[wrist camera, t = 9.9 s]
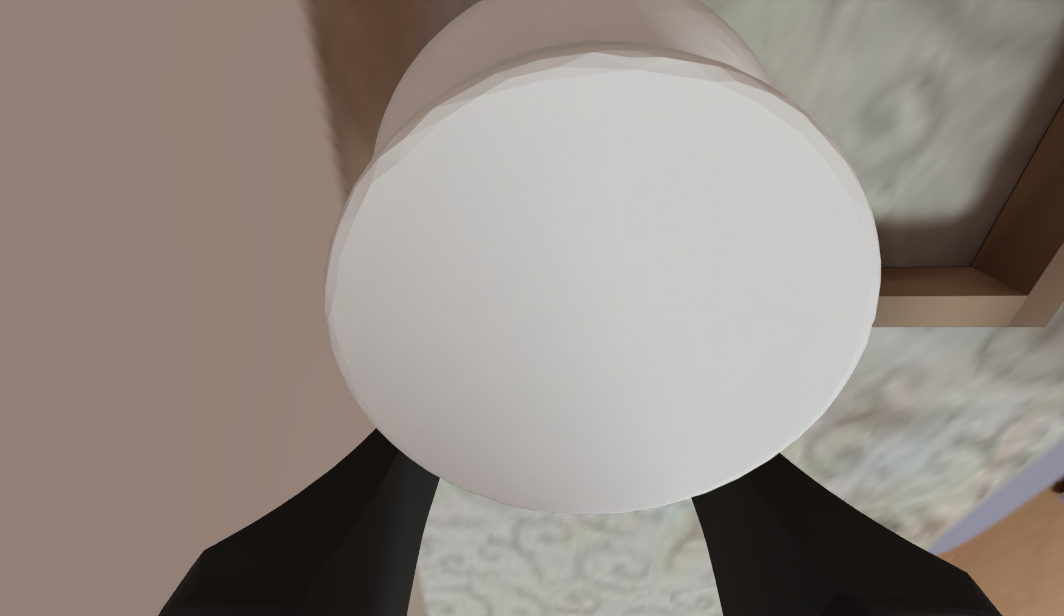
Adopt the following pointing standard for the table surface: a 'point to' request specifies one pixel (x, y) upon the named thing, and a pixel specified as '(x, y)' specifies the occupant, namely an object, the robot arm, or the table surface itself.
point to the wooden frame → (995, 261)
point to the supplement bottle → (598, 258)
